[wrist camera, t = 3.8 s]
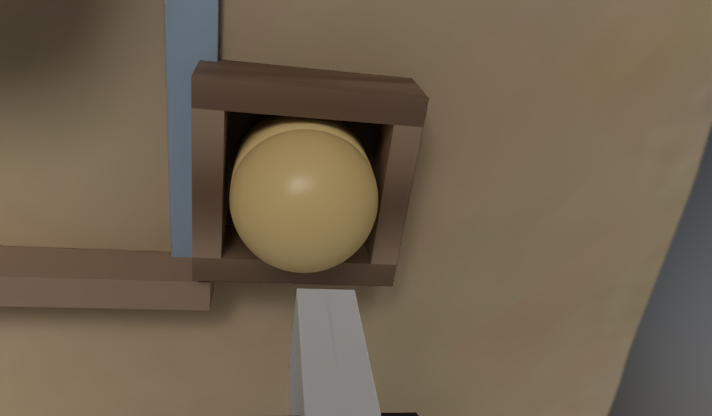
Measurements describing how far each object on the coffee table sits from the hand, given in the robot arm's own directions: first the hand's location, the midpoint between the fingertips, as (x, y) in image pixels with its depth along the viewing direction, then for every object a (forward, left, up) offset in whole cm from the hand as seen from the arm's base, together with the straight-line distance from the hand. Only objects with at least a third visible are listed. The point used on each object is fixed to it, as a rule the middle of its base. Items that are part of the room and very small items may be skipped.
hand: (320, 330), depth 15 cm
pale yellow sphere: (0, 0, -12) cm, 12 cm away
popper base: (0, 0, -12) cm, 12 cm away
